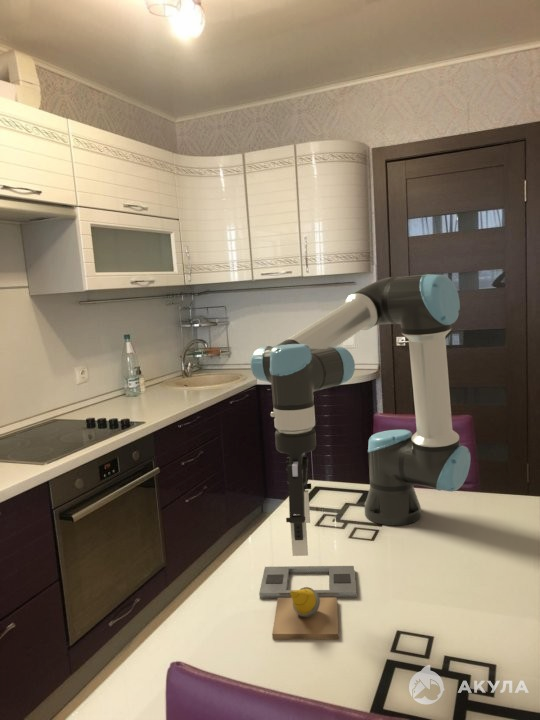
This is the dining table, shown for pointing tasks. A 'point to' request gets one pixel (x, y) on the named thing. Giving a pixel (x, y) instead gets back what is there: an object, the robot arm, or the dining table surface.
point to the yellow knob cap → (305, 601)
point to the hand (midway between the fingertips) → (302, 537)
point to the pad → (306, 621)
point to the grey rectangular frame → (338, 575)
